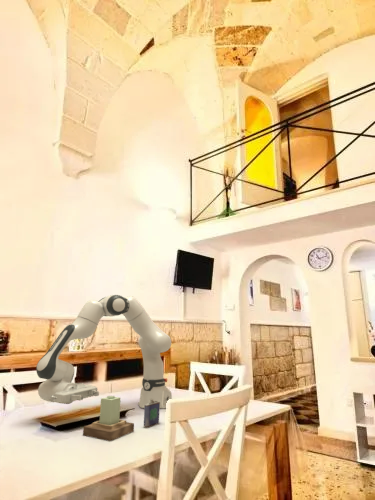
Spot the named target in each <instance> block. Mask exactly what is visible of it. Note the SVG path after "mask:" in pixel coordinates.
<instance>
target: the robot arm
mask: <svg viewBox="0 0 375 500" xmlns="http://www.w3.org/2000/svg"><path fill="white" fill-rule="evenodd" d="M120 315H123V316H124V317H125V319H126V321H127V322H128V324H129V325H130V327H131V328H132V329H133V331H134V332H135V333H136V334H137V335H139V338H138V346H139V348H140V349H141V355H142V359H143V377H142V380H141V385H142V387H141V389H140V395H139V402H137V405H138V407H139V408H141V409H144V405H145V404H148V403H150V400H151V398H152V399H154V400H153V401H158V402H160V407H159V409H167V408H166V403H167V401H168V400H169V399H172V400H173V398H172V392H171V390H170V389H169V388H168V387H167V386H166V383H168V381H169V380H168V378H165V377H164V373H165V372H164V370H165V369H164V365H165V364H164V361H163V360H162V357H161V353H165V352H167V351H169V349H171V347H172V339H171V337H170V335H169V334H167V333H166V332H165V331H163V330H162V329H161V328H160V327H159V326H158V325H157V323H155V322H154V321H153V320H152V318H151V317H150V315H149V314H148V313H147V311H146V310H145V308H144V307H143V305H142V304H141V303H140V302H139V301H138V299H137V298H136V297H134V296H131V295H129V296H127V297H124V296H122V295H119V294H114V295H113V294H111V295H107V296H105V297H102V298H101V299H100V300H95V299H90V300H88V301H87V302H86V303H85V304H84V306H83V307H82V308H81V309H80V312H78V315H77V317H76V318H75V320H74V321H73V322H72V323H70V324H68V325H66V326H65V327H64V328H63V330H62V331H61V332H60V334H59V335H58V336H57V337H56V338H55V341H54V342H53V343H52V345H51V346H50V347H49V349H47V352H45V354H44V355H43V356H42V357H41V358H40V359H39V360H38V362H37V363H36V368H35V370H36V374H37V376H38V378H39V379H43V380H44V381H43V382H42V383H40V384H39V386H38V389H37V391H38V392H37V393H38V396H39V398H40V399H42V400H43V401H46V402H50V403H57V404H61V405H62V404H63V405H70V404H72V403H73V402H76V401H83V399H87V398H91V397H98V396H99V395H100V392H99V390H98V387H97V386H96V385H92V384H85V383H84V382H75V383H74V382H72V381H73V380H74V376H75V367H74V365H73V363H70V362H68V361H65V360H62V359H60V358H59V357H60V355H61V354H62V352H63V351H64V350H65V348H66V347H67V345H68V343H70V342H71V341H73V340H77V339H78V340H79V339H80V340H81V339H82V340H84V339H87V338H89V337H91V336H92V335H93V334H94V333H95V331H96V329H97V328H98V325H99V322H100V320H101V319H102V318H103V317H115V316H120ZM149 399H150V400H149Z"/></svg>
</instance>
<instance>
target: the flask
mask: <svg viewBox="0 0 375 500" xmlns="http://www.w3.org/2000/svg"><path fill="white" fill-rule="evenodd" d="M149 400H150V399H149ZM153 400H154V399H152V398H151V400H150V403H148V404H145V405H144V408H143V409H144V412H143V428H145V429H148V428H151V427H154V426H156V425H159V424H160V408H159V407H160V402H158V401H153Z"/></svg>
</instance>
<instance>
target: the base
mask: <svg viewBox="0 0 375 500" xmlns="http://www.w3.org/2000/svg"><path fill="white" fill-rule="evenodd" d="M99 422H100V420H96V421H94V422H92V423H91V424H88V425H85V426H83V427H82V428H83V429H82V431H83V432H82V436H84V437H91V438H93V439H94V438H95V439H99V440H103V441H107V442H112V441H115V440H117V439H119V438H121V437H124V436H126V435H129V434H131V433H134V431H135V423H134V422H130V421H127V420H126V419H125V420H124V419H120V418H119V422H118V423H116V424H113V425H106V424H100V423H99Z"/></svg>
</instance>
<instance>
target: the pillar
mask: <svg viewBox="0 0 375 500" xmlns="http://www.w3.org/2000/svg"><path fill="white" fill-rule="evenodd" d="M99 409H100V410H99V421H100V422H99V423H100V424H106V425H113V424H116V423H118V422H119V419H120V417H121V416H120V413H121V397H118V396H115V395H108V396H106V397H101V398H100V408H99Z"/></svg>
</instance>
